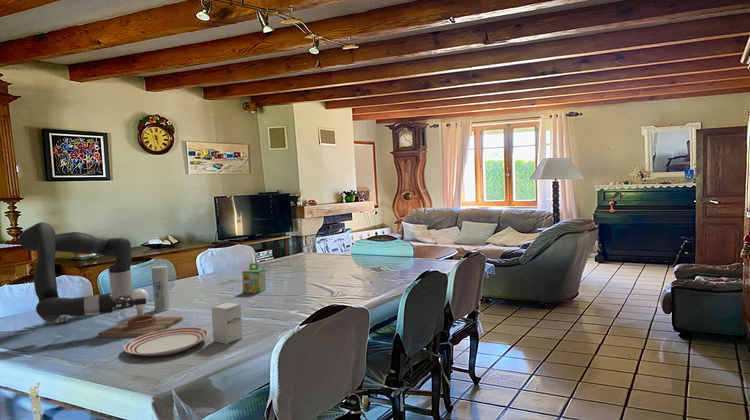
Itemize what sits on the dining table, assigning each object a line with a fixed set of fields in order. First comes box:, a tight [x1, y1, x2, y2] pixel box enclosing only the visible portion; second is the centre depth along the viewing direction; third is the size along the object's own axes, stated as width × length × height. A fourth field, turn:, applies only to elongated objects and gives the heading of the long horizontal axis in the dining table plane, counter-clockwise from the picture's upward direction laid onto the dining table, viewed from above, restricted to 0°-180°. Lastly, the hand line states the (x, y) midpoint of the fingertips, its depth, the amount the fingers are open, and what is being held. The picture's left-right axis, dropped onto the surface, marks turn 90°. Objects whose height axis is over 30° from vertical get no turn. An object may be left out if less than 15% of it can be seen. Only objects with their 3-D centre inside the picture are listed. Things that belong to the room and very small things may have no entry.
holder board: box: [97, 314, 183, 338], centre depth 194 cm, size 22×22×4 cm
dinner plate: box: [123, 326, 210, 357], centre depth 169 cm, size 27×27×3 cm
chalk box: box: [241, 262, 267, 294], centre depth 254 cm, size 9×9×15 cm
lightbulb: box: [131, 288, 149, 316], centre depth 193 cm, size 6×6×11 cm
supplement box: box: [211, 302, 243, 345], centre depth 173 cm, size 7×7×13 cm
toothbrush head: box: [54, 315, 69, 324], centre depth 217 cm, size 5×7×25 cm
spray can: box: [151, 265, 171, 312], centre depth 224 cm, size 6×6×20 cm
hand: (146, 299), depth 194 cm, fingers closed on lightbulb, 6 cm apart
